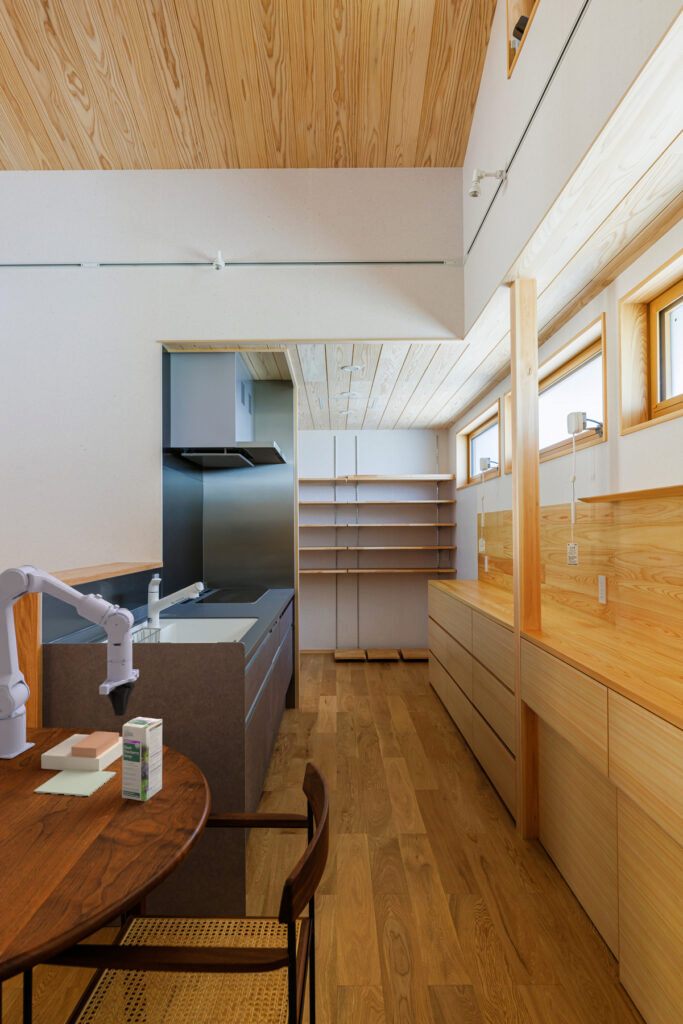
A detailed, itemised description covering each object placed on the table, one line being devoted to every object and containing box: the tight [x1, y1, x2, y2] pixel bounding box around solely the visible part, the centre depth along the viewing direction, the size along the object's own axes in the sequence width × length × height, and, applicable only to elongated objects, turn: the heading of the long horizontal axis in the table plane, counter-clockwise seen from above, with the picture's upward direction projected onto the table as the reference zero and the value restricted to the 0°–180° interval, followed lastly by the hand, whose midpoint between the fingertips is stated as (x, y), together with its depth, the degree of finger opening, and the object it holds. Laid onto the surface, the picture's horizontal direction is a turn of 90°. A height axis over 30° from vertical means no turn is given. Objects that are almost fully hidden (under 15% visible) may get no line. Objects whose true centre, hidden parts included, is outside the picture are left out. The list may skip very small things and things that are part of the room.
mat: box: [33, 769, 117, 797], centre depth 117 cm, size 12×10×1 cm
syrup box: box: [121, 716, 163, 803], centre depth 113 cm, size 6×6×14 cm
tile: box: [71, 731, 120, 758], centre depth 127 cm, size 6×9×2 cm, turn 171°
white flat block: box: [40, 733, 122, 771], centre depth 129 cm, size 14×12×3 cm
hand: (120, 714), depth 137 cm, fingers closed
